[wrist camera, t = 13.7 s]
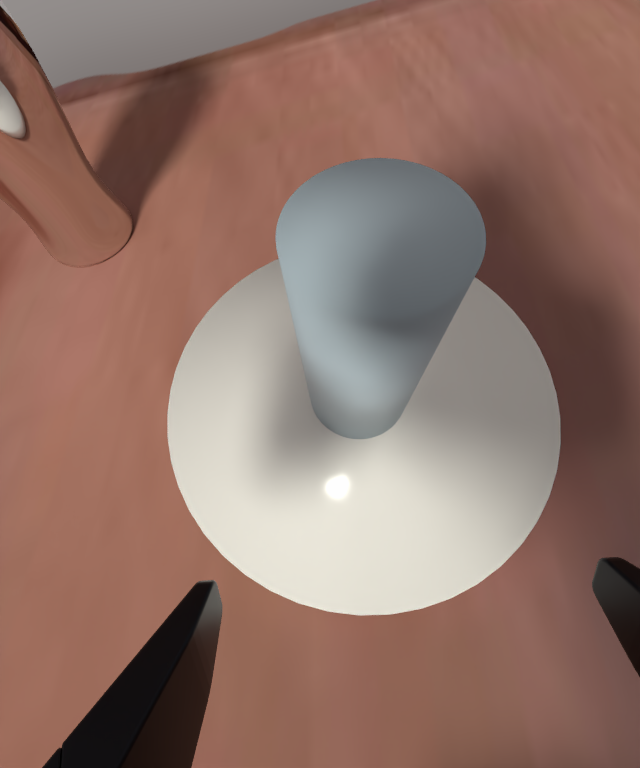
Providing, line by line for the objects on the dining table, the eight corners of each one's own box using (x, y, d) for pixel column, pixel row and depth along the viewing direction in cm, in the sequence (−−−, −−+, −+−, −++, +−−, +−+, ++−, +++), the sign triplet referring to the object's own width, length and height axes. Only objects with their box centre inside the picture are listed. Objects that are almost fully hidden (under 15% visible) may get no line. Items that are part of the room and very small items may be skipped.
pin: (391, 453, 18) (461, 347, 8) (296, 420, 19) (242, 286, 8) (417, 364, 19) (502, 179, 9) (328, 338, 20) (316, 143, 10)
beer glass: (116, 183, 28) (-110, -168, 14) (156, 238, 25) (-66, -117, 11) (28, 228, 26) (-318, -110, 13) (63, 290, 24) (-315, -40, 10)
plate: (270, 707, 15) (265, 721, 14) (131, 340, 22) (121, 330, 21) (636, 472, 18) (656, 468, 17) (408, 212, 25) (411, 197, 24)
